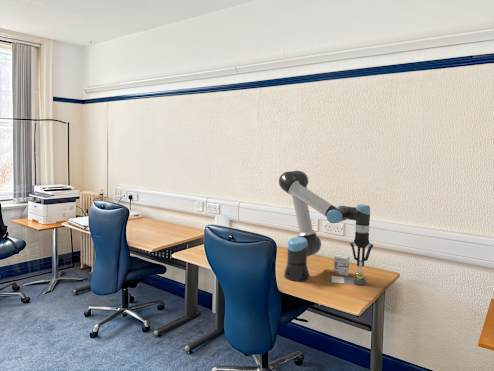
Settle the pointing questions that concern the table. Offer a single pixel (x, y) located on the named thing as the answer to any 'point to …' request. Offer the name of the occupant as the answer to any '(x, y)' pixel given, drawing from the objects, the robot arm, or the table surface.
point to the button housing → (359, 281)
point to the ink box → (341, 264)
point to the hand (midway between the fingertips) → (360, 271)
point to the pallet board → (342, 280)
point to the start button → (359, 275)
